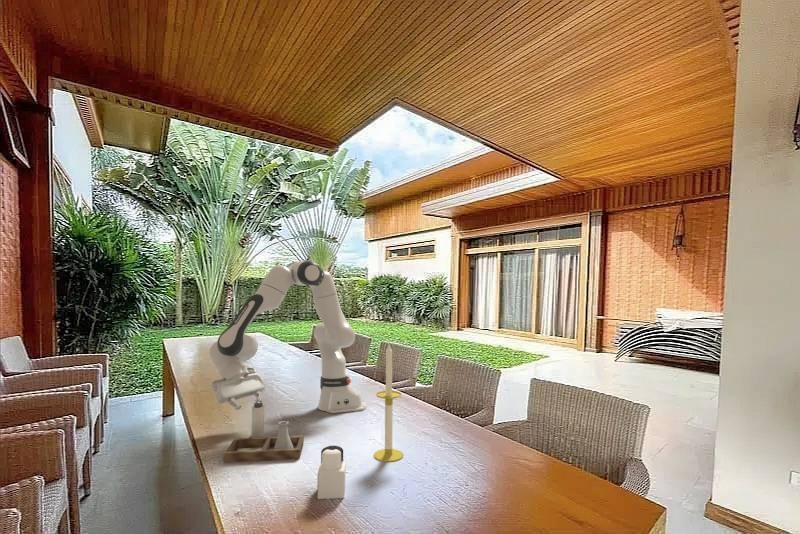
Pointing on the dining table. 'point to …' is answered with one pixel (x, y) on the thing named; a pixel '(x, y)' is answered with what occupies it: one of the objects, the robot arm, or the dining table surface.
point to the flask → (283, 437)
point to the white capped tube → (258, 420)
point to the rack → (261, 450)
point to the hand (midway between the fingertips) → (249, 405)
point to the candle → (388, 415)
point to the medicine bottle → (331, 473)
